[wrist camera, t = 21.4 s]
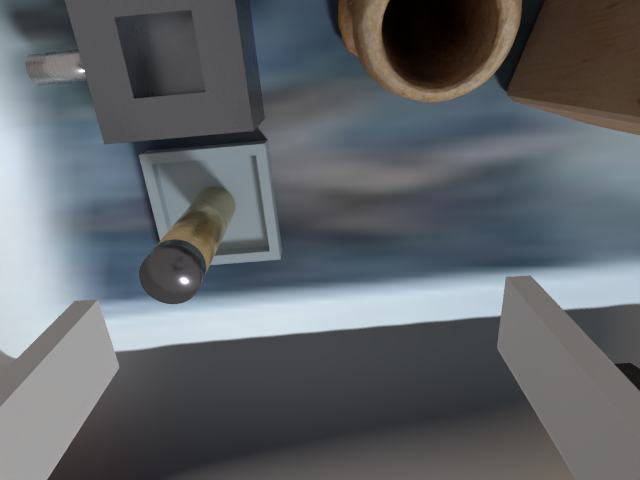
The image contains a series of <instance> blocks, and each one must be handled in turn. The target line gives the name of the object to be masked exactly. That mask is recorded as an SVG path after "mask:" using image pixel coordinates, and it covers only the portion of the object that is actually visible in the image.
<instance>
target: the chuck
mask: <svg viewBox="0 0 640 480" xmlns="http://www.w3.org/2000/svg"><path fill="white" fill-rule="evenodd" d="M65 4H66V7H67V11H68V14H69V18H70V22H71V25H72V29H73V32H74V36H75V40H76V43H77V47H78V50H72V51H61V52H51V53H40V54H30V55H28V56H27V57H26V69H27V72H28V74H29V76H30V78H31V79H32V80H33V82H35V83H36V84H38V85H48V84H59V83H70V82H80V81H87V83H88V86H89V90H90V94H91V97H92V101H93V104H94V108H95V112H96V115H97V119H98V122H99V126H100V130H101V133H102V137H103V140H104V144H113V143H125V142H136V141H147V140H158V139H169V138H181V137H192V136H203V135H214V134H226V133H237V132H248V131H254V130H255V129H256V128H257V127H258V126H259V125H260V123H261V122H262V121H263V120H264V119H265V117H264V110H263V102H262V94H261V87H260V79H259V72H258V64H257V56H256V49H255V41H254V33H253V26H252V18H251V11H250V3H249V0H65Z"/></svg>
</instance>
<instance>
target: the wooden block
mask: <svg viewBox="0 0 640 480" xmlns="http://www.w3.org/2000/svg"><path fill="white" fill-rule="evenodd" d="M507 94H508V96H509V97H510V98H511V99H512V100H513V101H516V102H519V103H522V104H525V105H529V106H532V107H535V108H538V109H542V110H545V111H548V112H551V113H555V114H558V115H561V116H565V117H568V118H571V119H574V120H578V121H581V122H584V123H587V124H591V125H595V126H600V127H604V128H609V129H613V130H618V131H623V132H627V133H632V134H636V135H640V0H545V1H544V4H543V6H542V8H541V11H540V13H539V15H538V18H537V20H536V23H535V25H534V27H533V30H532V32H531V34H530V37H529V39H528V42H527V44H526V46H525V49H524V51H523V53H522V56H521V58H520V61H519V63H518V65H517V68H516V70H515V72H514V75H513V77H512V80H511V82H510V84H509V87H508V93H507Z"/></svg>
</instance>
